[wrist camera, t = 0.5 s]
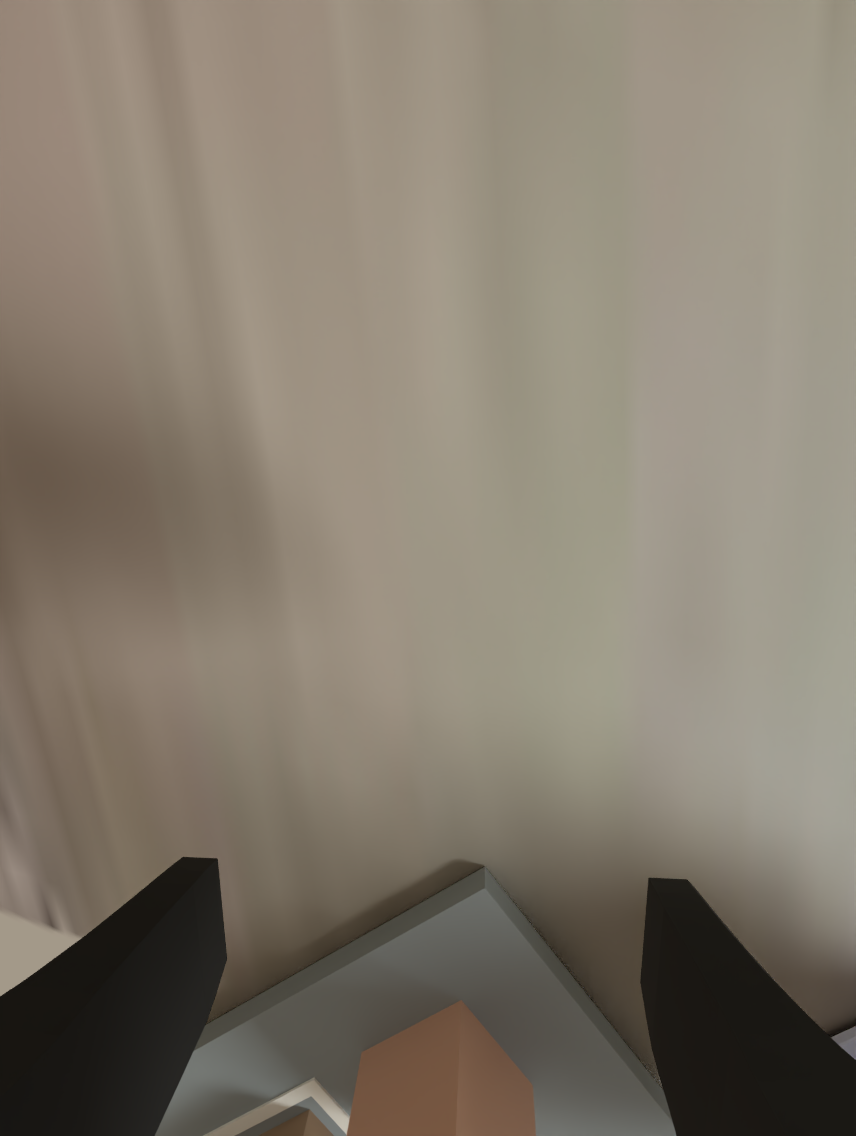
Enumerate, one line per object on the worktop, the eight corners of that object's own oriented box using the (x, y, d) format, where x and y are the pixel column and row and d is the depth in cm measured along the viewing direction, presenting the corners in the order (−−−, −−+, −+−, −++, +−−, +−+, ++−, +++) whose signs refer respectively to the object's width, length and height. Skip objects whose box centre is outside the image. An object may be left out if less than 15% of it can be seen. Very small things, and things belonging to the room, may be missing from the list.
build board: (687, 1121, 26) (696, 1154, 25) (283, 1302, 30) (275, 1336, 29) (485, 866, 24) (484, 890, 23) (78, 1096, 28) (62, 1126, 26)
